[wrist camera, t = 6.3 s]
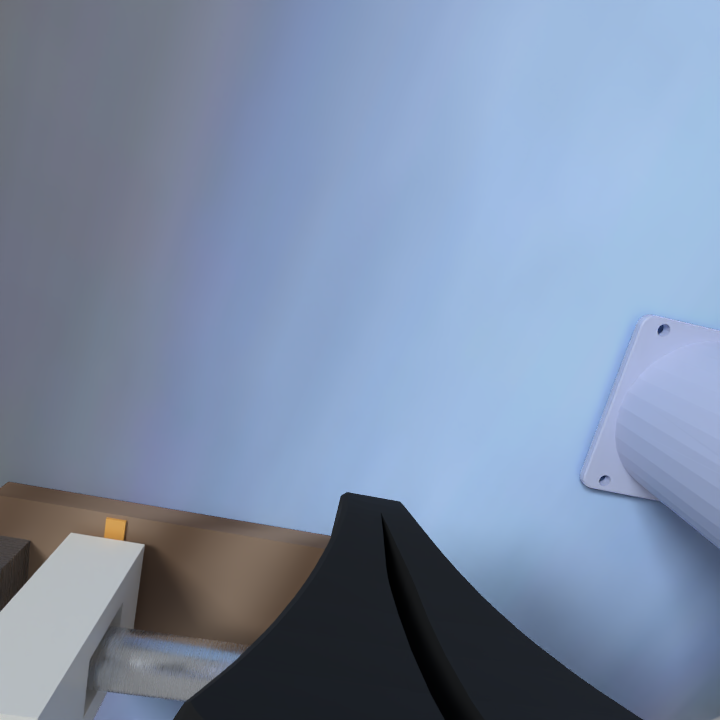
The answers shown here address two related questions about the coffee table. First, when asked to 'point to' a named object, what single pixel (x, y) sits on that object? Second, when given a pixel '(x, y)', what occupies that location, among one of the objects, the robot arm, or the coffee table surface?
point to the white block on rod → (65, 627)
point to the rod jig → (164, 583)
